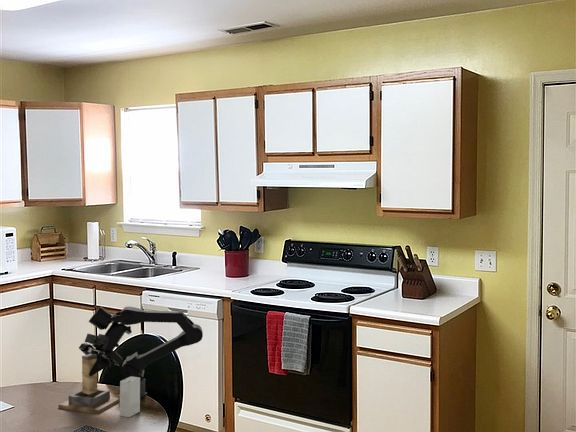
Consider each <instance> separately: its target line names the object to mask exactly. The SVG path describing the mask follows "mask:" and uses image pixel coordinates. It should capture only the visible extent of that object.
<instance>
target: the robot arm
mask: <svg viewBox="0 0 576 432" xmlns="http://www.w3.org/2000/svg"><path fill="white" fill-rule="evenodd" d="M88 323H89V324H91V325H92V326H94V327H96V328H97V329H98V330H100V331H102V330H106V332H105V333H104V334H102V333H98V335H95V334H91V333H86V337H85V339H84V342H83V343H81V344H80V345H79V347H78V350H80V351H81V352H82V353H83V354H84V355H88V354H94V355H97V361H96V363H95V364H94V366H93V368H92V369H91V371H90V373H89V376H92V375H94V374H96V373H97V374H98V373H100V372H101V371H102V370H104V369H106V368H108V367H109V366H110V367H111V366H112V365H115V366H118V367H120V366H121V364H122V366H121V375H122V376H124V377H125V379H126V378H128V377H130V376H131V377H139V378H140V399H141V398H143V397H144V396H146V395H148V392H146V378H144V374H145V368H146V367H147V366H148V365H150V364H152V363H155V361H158V360H159V359H162V358H163V357H166V356H167V355H169V354H171V353H173V352H175V351H177V350H179V349H181V348H183V347H187V346H191V345H195V344H198V343H199V342H201V341H202V339H203V335H204V333H203V329H202V327H201V326H200V324H198V323H197V324H196V323H194V322H193V320H191V319H190V318H189V317H188V316H187V315H186V314H185V312H184V311H182V310H170V311H169V310H146V309H141V308H138V307H134V306H125V307H124V308H123V309H122V310H119V311H117V312H114V313H111V312H109V311H107V310H106V309H105V308H104V307H102V306H99V308H98V309H97V310H96V311H95V312H94V314H93V315H92V316H91V317H90V319H89V320H88ZM141 323H169V324H170V323H176V324H178V326H179V328H181V330H182V331H181V332H180V333H179V334H178V335H177V336H176V337H174V338H171V339H170V340H168V341H165V342H164V343H162V344H160V345H158V346H156V347H154V348H153V349H151V350H149V351H146V352H145V353H142V354H138V351H135V352H134V353H132V354H131V355H128V356H126V359H125V360H124V361H123V357H122V356H121V355H120V354H119V353H118V352H117V351H116V350H114V349H115V348H119V347H120V344H119V342H120V341H121V339H122V338H123V336H124V335H125V333H126V334H127V335H131V334H132V333H133V332H132V331H133V330H132V327H131V325H132V326H133V325H137V324H141ZM112 362H113V364H112Z"/></svg>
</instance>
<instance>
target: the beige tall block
mask: <svg viewBox="0 0 576 432" xmlns="http://www.w3.org/2000/svg"><path fill="white" fill-rule="evenodd" d="M81 361H82V362H81V365H82V366H81V377H82V381H81V382H82V383H81V384H82V392H83V393H86V394H92V393H95V392H97V389H98V372H97V373H96V374H94V375H92V376H89V373H90V371H91V369H92V368H93V366H94V364H95V363H96V361H97V355H94V354H88V355H85V354H84V355H81Z"/></svg>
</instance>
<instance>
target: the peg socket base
mask: <svg viewBox="0 0 576 432" xmlns="http://www.w3.org/2000/svg"><path fill="white" fill-rule="evenodd" d="M118 403H120V397H119V398H118V397H114V396H113V397H111V390H110V389H102V388H97V392H95V393H92V394H86V393H83V392H82V389H80V390H78V391H76V392H74V393H71V394H70V395H68V399H67V400H65V401H63V402H61V403H59V404H58V409H62V410H70V411H74V412H75V411H77V412H83V413H91V414H98V415H100V414H101V413H102V412H104V411H106V410H108V409H109V408H112V407H113V406H114V405H116V404H118Z"/></svg>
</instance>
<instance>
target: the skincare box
mask: <svg viewBox="0 0 576 432" xmlns="http://www.w3.org/2000/svg"><path fill="white" fill-rule="evenodd" d="M119 398H120V402H119V416H120V417H126V418H131V417H133V416H134V415H136V414H138V413H139V412H140V411H141V398H140V378H139V377H131V376H130V377H128V378H126V377H125V378H124V379H122V380H120V382H119Z"/></svg>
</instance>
